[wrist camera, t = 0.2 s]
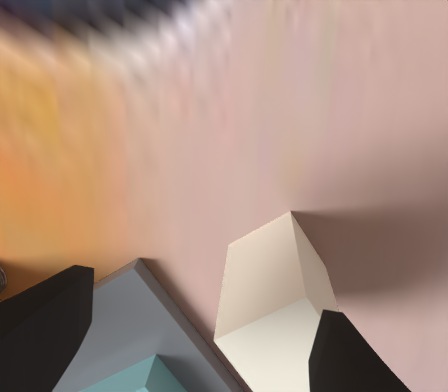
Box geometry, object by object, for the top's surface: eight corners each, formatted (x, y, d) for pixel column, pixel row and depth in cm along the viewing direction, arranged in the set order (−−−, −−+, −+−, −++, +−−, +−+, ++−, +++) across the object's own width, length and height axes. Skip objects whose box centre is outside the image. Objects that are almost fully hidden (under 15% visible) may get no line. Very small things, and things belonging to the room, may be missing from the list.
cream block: (325, 266, 23) (358, 373, 15) (265, 296, 24) (267, 410, 16) (290, 211, 22) (306, 296, 14) (228, 244, 23) (213, 340, 15)
